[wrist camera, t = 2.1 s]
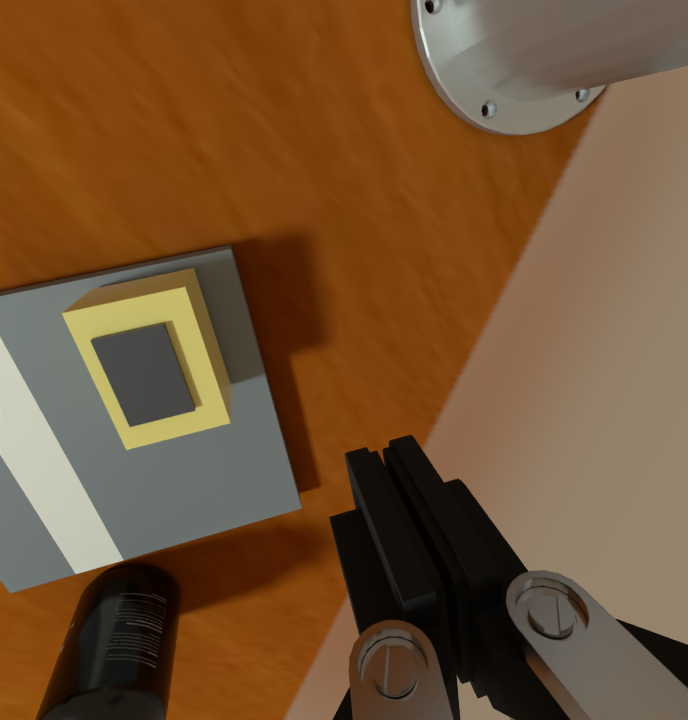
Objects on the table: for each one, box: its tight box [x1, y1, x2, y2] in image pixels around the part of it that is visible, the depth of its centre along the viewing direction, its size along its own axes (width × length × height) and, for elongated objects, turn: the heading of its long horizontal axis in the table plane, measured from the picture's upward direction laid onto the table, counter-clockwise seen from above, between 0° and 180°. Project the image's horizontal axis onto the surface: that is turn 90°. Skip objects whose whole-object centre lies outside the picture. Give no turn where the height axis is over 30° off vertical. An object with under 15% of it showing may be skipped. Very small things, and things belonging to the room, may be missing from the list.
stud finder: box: [62, 268, 232, 450], centre depth 21 cm, size 5×7×4 cm
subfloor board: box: [0, 245, 302, 593], centre depth 25 cm, size 19×18×2 cm
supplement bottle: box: [36, 566, 181, 720], centre depth 26 cm, size 7×7×12 cm
